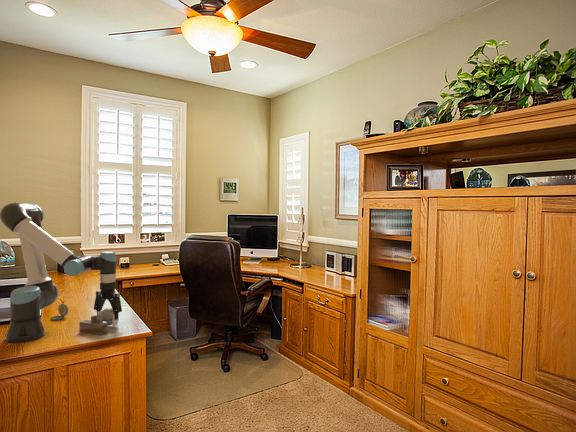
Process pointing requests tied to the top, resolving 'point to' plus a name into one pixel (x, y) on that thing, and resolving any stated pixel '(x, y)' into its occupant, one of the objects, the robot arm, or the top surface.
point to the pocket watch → (61, 312)
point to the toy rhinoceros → (105, 316)
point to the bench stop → (93, 326)
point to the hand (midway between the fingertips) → (107, 324)
